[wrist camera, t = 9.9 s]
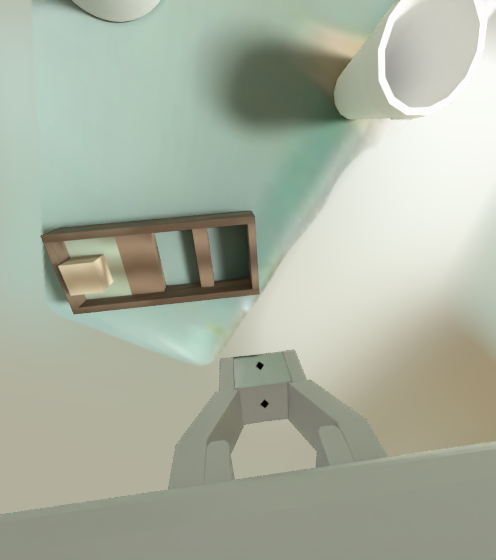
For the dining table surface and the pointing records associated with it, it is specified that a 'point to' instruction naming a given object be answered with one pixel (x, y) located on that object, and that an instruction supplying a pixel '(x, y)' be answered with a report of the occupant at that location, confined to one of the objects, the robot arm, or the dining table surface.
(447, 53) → the foam cup
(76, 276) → the block
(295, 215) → the dining table surface
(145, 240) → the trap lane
